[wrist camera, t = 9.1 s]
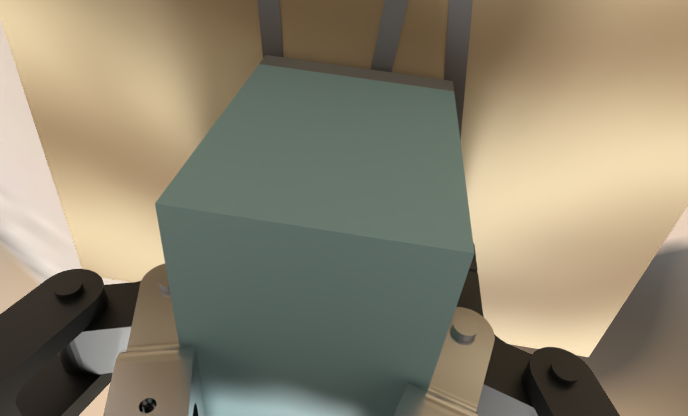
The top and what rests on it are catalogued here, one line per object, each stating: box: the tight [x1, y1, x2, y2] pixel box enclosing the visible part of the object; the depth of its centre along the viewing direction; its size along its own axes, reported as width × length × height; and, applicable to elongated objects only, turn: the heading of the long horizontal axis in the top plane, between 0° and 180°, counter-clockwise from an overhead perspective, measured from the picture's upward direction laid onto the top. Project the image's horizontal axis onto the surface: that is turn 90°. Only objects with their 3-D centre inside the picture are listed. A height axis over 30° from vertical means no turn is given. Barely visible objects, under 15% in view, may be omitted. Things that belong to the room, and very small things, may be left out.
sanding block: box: [155, 55, 474, 416], centre depth 12 cm, size 9×4×6 cm, turn 175°
